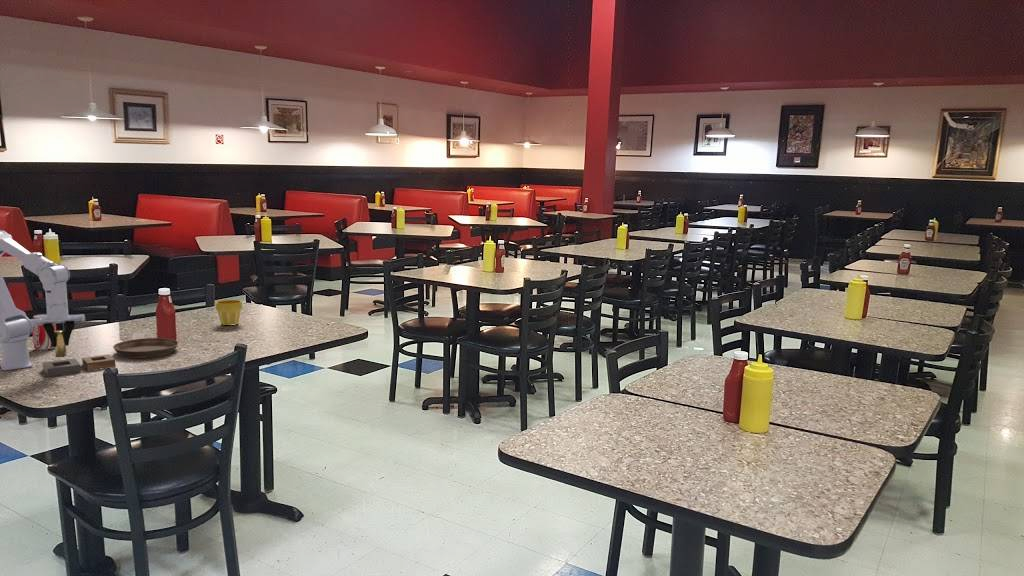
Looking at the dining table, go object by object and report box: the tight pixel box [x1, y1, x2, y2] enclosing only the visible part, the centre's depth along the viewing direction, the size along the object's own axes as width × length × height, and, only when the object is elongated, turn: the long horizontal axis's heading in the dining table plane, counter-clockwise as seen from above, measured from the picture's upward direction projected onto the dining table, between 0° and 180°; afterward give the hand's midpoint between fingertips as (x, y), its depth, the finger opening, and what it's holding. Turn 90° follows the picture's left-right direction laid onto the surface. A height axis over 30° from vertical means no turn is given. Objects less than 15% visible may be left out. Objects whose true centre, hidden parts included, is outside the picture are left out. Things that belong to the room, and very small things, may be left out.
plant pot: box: [214, 299, 243, 325], centre depth 301 cm, size 10×10×10 cm
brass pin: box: [54, 329, 68, 358], centre depth 229 cm, size 3×3×8 cm
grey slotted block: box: [42, 357, 82, 378], centre depth 230 cm, size 9×9×2 cm
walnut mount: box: [81, 353, 117, 371], centre depth 237 cm, size 8×8×2 cm
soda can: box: [31, 313, 57, 351], centre depth 255 cm, size 7×7×12 cm
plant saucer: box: [112, 337, 179, 359], centre depth 256 cm, size 21×21×3 cm
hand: (60, 345), depth 229 cm, fingers closed on brass pin, 3 cm apart
